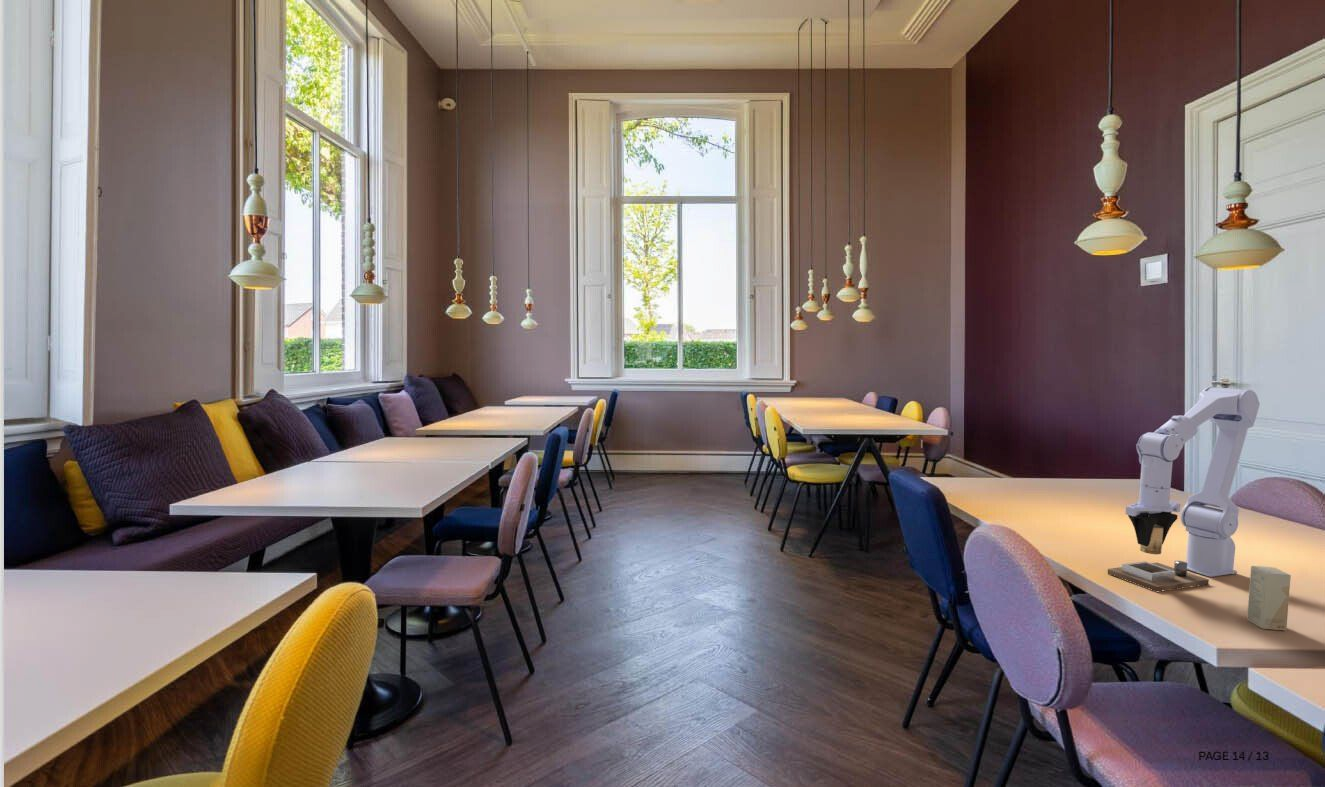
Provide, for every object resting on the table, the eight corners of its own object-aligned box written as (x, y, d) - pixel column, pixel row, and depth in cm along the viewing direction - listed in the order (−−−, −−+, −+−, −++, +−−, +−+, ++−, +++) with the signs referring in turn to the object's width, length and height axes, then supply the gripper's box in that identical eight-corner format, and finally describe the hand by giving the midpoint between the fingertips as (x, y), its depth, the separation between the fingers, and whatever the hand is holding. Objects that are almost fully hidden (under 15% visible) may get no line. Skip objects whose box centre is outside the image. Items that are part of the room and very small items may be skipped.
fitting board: (1156, 567, 172) (1158, 550, 172) (1208, 584, 161) (1209, 566, 160) (1107, 573, 167) (1108, 556, 166) (1157, 592, 156) (1158, 573, 155)
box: (1287, 631, 136) (1292, 575, 135) (1261, 629, 137) (1266, 573, 136) (1269, 620, 141) (1275, 566, 140) (1245, 618, 142) (1250, 564, 141)
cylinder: (1147, 547, 165) (1149, 522, 164) (1165, 553, 161) (1167, 527, 160) (1136, 549, 163) (1138, 524, 162) (1153, 555, 159) (1156, 529, 159)
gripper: (1148, 491, 155) (1143, 552, 156) (1195, 487, 159) (1190, 546, 160) (1118, 484, 161) (1114, 542, 163) (1164, 481, 166) (1160, 537, 167)
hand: (1150, 544), depth 162 cm, fingers closed on cylinder, 4 cm apart
